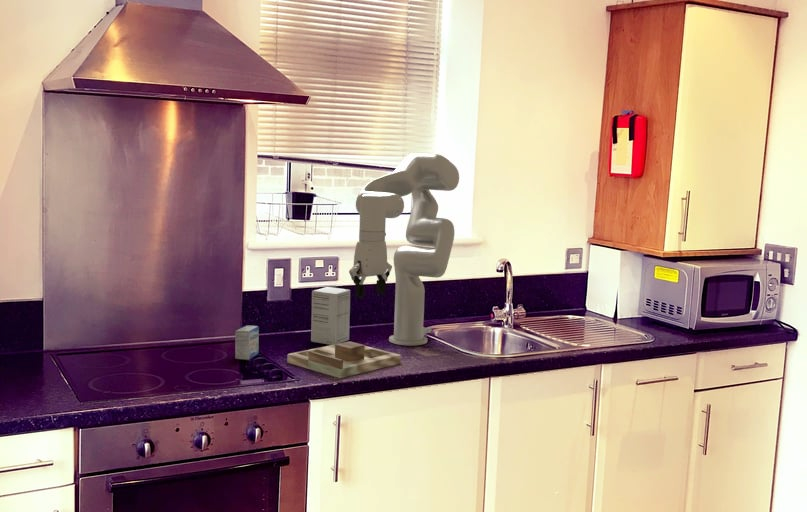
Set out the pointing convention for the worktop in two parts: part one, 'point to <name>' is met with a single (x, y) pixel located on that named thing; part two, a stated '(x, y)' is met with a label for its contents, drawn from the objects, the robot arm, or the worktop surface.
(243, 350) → the medicine box
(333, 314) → the supplement box
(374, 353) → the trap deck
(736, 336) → the worktop surface
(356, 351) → the walnut block
